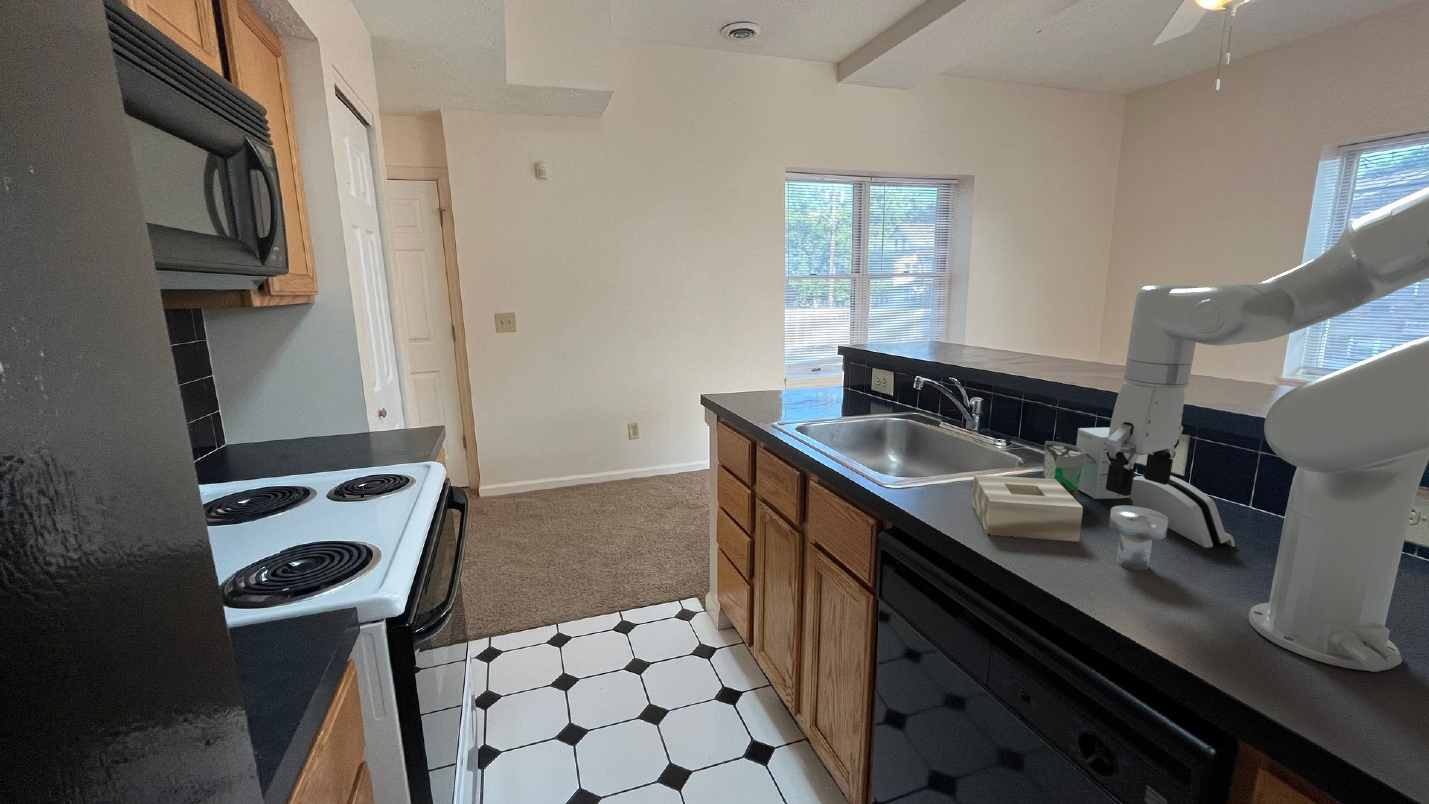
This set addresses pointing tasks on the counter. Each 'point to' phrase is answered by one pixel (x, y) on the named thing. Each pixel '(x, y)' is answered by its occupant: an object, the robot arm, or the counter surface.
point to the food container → (1064, 464)
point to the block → (1026, 508)
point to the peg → (1136, 534)
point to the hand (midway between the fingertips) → (1137, 487)
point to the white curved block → (1182, 509)
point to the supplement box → (1095, 463)
